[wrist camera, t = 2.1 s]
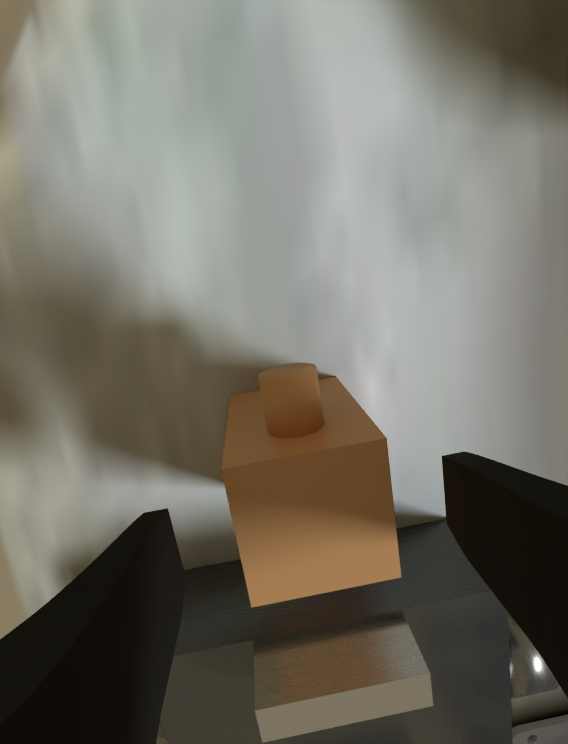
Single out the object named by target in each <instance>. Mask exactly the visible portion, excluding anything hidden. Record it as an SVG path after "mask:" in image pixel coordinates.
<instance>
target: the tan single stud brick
mask: <svg viewBox="0 0 568 744" xmlns="http://www.w3.org/2000/svg"><path fill="white" fill-rule="evenodd" d="M258 381H259V386H260V390H256V391H251V392H245V393H240V394H234V395H231V397H230V405H229V412H228V420H227V428H226V435H225V443H224V451H223V458H222V466H221V471H222V475H223V480H224V484H225V489H226V494H227V498H228V503H229V507H230V512H231V516H232V521H233V526H234V530H235V535H236V539H237V544H238V548H239V553H240V558H241V562H242V567H243V571H244V576H245V580H246V585H247V590H248V594H249V599H250V603H251V608H252V607H257V606H262V605H267V604H272V603H277V602H282V601H287V600H292V599H297V598H302V597H307V596H312V595H317V594H322V593H327V592H332V591H337V590H342V589H347V588H352V587H357V586H362V585H367V584H371V583H376V582H381V581H386V580H391V579H396V578H401V568H400V559H399V550H398V540H397V531H396V522H395V513H394V503H393V494H392V485H391V476H390V466H389V457H388V448H387V439H386V437H385V436H384V435H383V433H382V432H381V431H380V430H379V428H378V427H377V426H376V425H375V424H374V422H373V421H372V420H371V419H370V417H369V416H368V415H367V414H366V413H365V411H364V410H363V409H362V408H361V406H360V405H359V404H358V403H357V402H356V400H355V399H354V398H353V397H352V395H351V394H350V393H349V392H348V391H347V389H346V388H345V387H344V386H343V384H342V383H341V382H340V381H339V380H338V378H337V377H336V376H334V377H329V378H323V379H318V374H317V367H316V365H314V364H310V363H292V364H285V365H280V366H276V367H272V368H269V369H266V370H264V371H262V372H261V373H259V374H258Z"/></svg>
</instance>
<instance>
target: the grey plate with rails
mask: <svg viewBox="0 0 568 744" xmlns="http://www.w3.org/2000/svg"><path fill="white" fill-rule="evenodd" d="M396 531H397V540H398V550H399V559H400V568H401V578H396V579H391V580H386V581H381V582H376V583H371V584H367V585H362V586H357V587H352V588H347V589H342V590H337V591H332V592H327V593H322V594H317V595H312V596H307V597H302V598H297V599H292V600H287V601H282V602H277V603H272V604H267V605H262V606H257V607H252V608H251V603H250V599H249V594H248V590H247V585H246V580H245V576H244V571H243V567H242V562H241V560H237V561H232V562H227V563H222V564H217V565H212V566H206V567H201V568H196V569H191V570H186V571H184V573H185V587H184V600H183V610H182V618H181V623H180V628H179V632H178V637H177V642H176V647H175V651H174V656H173V661H172V665H171V670H170V674H169V679H168V684H167V688H166V693H165V697H164V702H163V707H162V711H161V716H160V719H161V723H162V726H163V729H164V732H165V736H166V739H167V742H168V744H513V742H512V713H511V699H513V698H517V697H522V696H527V695H531V694H536V693H540V692H545V691H550V690H554V689H556V688H558V686H559V683H558V682H557V680H556V679H555V677H554V675H553V674H552V672H551V671H550V669H549V668H548V666H547V665H546V663H545V661H544V660H543V658H542V657H541V655H540V654H539V653H538V651H537V650H536V648H535V647H534V646H533V644H532V643H531V641H530V640H529V639H528V637H527V636H526V635H525V633H524V632H523V631H522V629H521V628H520V627H519V626H518V624H517V623H516V622H515V620H514V619H513V618H512V617H511V615H510V614H509V613H508V611H507V610H506V609H505V608H504V606H503V605H502V604H501V602H500V601H499V600H498V599H497V597H496V596H495V595H494V593H493V592H492V591H491V589H490V588H489V587H488V586H487V584H486V583H485V582H484V580H483V579H482V578H481V576H480V575H479V574H478V573H477V571H476V570H475V569H474V567H473V566H472V565H471V563H470V562H469V561H468V559H467V558H466V556H465V555H464V553H463V551H462V550H461V548H460V546H459V545H458V543H457V541H456V539H455V538H454V536H453V534H452V532H451V531H450V529H449V527H448V525H447V519H446V520H441V521H435V522H430V523H425V524H420V525H415V526H410V527H405V528H400V529H396Z"/></svg>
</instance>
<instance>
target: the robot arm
mask: <svg viewBox="0 0 568 744" xmlns="http://www.w3.org/2000/svg"><path fill="white" fill-rule="evenodd" d="M442 464H443V478H444V492H445V505H446V519H447V525H448V527H449V529H450V531H451V532H452V534H453V536H454V538H455V539H456V541H457V543H458V545H459V546H460V548H461V550H462V551H463V553H464V555H465V556H466V558H467V559H468V561H469V562H470V563H471V565H472V566H473V567H474V569H475V570H476V571H477V573H478V574H479V575H480V576H481V578H482V579H483V580H484V582H485V583H486V584H487V586H488V587H489V588H490V589H491V591H492V592H493V593H494V595H495V596H496V597H497V599H498V600H499V601H500V602H501V604H502V605H503V606H504V608H505V609H506V610H507V611H508V613H509V614H510V615H511V617H512V618H513V619H514V620H515V622H516V623H517V624H518V626H519V627H520V628H521V629H522V631H523V632H524V633H525V635H526V636H527V637H528V639H529V640H530V641H531V643H532V644H533V646H534V647H535V648H536V650H537V651H538V653H539V654H540V655H541V657H542V658H543V660H544V661H545V663H546V665H547V666H548V668H549V669H550V671H551V672H552V674H553V675H554V677H555V679H556V680H557V682H558V683H559V685H560V686H561V688H562V690H563V691H564V693H565V694H566V696H567V697H568V486H567V485H564V484H560V483H557V482H554V481H551V480H548V479H545V478H542V477H539V476H536V475H533V474H530V473H528V472H525V471H522V470H519V469H516V468H513V467H511V466H508V465H505V464H502V463H499V462H497V461H494V460H491V459H488V458H485V457H482V456H479V455H475V454H472V453H468V452H460V453H455V454H450V455H445V456H442ZM184 587H185V573H184V569H183V565H182V561H181V558H180V554H179V550H178V546H177V542H176V538H175V535H174V531H173V527H172V523H171V519H170V516H169V512H168V508H167V509H162V510H157V511H152V512H146V513H143V514H142V515H141V516H140V517H138V518H137V519H136V520H135V521H134V522H133V523H132V524H131V525H130V526H129V527H128V528H127V529H126V530H125V531H124V532H123V533H122V534H121V535H120V536H119V537H118V538H117V539H116V540H115V541H114V542H113V543H112V544H111V545H110V546H109V547H108V548H107V549H106V550H105V551H104V552H103V553H102V554H101V555H99V556H98V557H97V558H96V559H95V560H94V561H93V562H92V563H91V564H90V565H89V566H88V567H87V568H86V569H85V570H84V571H83V572H81V573H80V574H79V575H78V576H77V577H76V578H75V579H74V580H73V581H72V582H70V583H69V584H68V585H67V586H66V587H65V588H64V589H63V590H62V591H60V592H59V593H58V594H57V595H56V596H55V597H54V598H52V599H51V600H50V601H49V602H48V603H47V604H45V605H44V606H43V607H42V608H40V609H39V610H38V611H37V612H36V613H34V614H33V615H32V616H30V617H29V618H28V619H27V620H25V621H24V622H23V623H22V624H20V625H19V626H18V627H16V628H15V629H14V630H12V631H11V632H10V633H9V634H7V635H6V636H4V637H3V638H2V639H1V640H0V744H156V739H157V733H158V727H159V722H160V716H161V711H162V707H163V702H164V697H165V693H166V688H167V684H168V679H169V674H170V670H171V665H172V661H173V656H174V651H175V647H176V642H177V637H178V632H179V628H180V623H181V618H182V610H183V600H184ZM512 742H513V744H568V714H567V715H563V716H558V717H554V718H549V719H545V720H540V721H535V722H531V723H526V724H522V725H517V726H514V727H513V728H512Z"/></svg>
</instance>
